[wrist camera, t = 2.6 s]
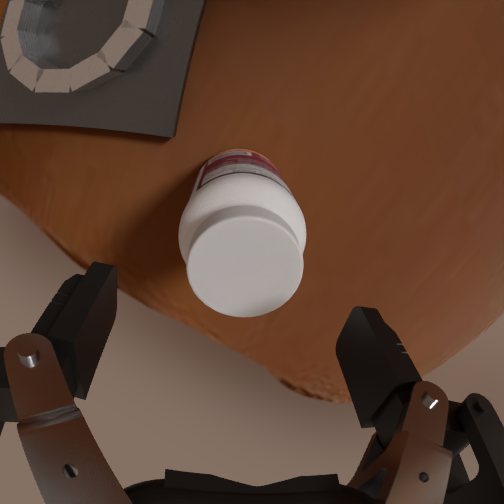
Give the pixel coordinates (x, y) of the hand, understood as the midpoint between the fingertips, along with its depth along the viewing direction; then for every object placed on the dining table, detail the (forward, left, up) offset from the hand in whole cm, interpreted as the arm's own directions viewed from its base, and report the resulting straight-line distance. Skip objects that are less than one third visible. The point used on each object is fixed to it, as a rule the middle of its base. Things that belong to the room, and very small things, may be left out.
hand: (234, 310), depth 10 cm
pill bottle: (0, 0, -14) cm, 14 cm away
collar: (+13, -11, -14) cm, 22 cm away
